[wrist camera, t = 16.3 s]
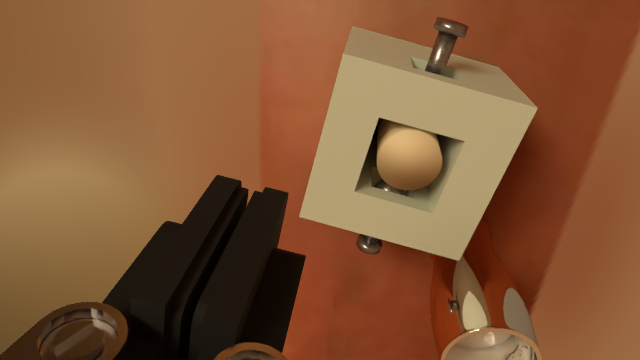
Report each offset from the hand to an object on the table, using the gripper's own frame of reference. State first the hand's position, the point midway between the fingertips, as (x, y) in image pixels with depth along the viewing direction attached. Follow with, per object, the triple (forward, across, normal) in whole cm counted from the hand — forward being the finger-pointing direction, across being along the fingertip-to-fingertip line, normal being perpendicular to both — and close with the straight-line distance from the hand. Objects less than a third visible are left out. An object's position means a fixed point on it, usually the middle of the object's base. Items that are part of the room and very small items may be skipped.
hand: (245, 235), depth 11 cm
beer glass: (+28, -15, +16) cm, 36 cm away
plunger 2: (+23, -7, 0) cm, 24 cm away
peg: (+28, -6, +6) cm, 30 cm away
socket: (+28, -6, +6) cm, 30 cm away
